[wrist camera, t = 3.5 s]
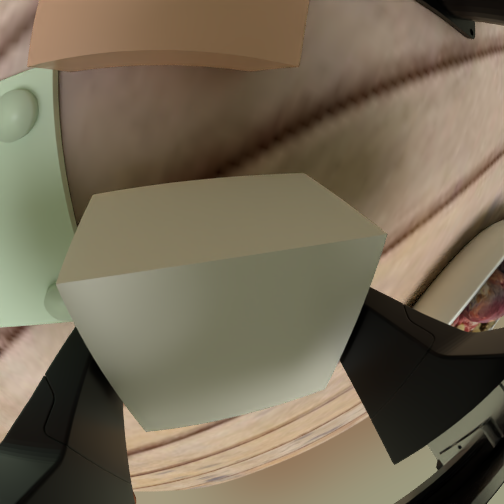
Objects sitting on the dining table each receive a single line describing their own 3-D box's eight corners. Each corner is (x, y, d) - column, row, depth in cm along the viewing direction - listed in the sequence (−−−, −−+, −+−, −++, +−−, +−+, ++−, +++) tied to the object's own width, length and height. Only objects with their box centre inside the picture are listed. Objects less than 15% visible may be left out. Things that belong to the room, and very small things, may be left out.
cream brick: (304, 173, 9) (387, 234, 6) (283, 316, 12) (324, 389, 9) (92, 194, 7) (55, 284, 4) (136, 343, 10) (146, 431, 7)
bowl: (498, 285, 36) (524, 310, 30) (382, 398, 40) (404, 431, 34) (515, 154, 18) (570, 188, 11) (315, 361, 22) (360, 438, 16)
